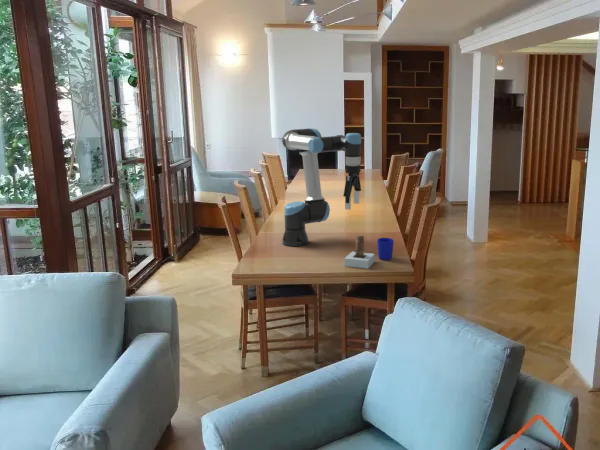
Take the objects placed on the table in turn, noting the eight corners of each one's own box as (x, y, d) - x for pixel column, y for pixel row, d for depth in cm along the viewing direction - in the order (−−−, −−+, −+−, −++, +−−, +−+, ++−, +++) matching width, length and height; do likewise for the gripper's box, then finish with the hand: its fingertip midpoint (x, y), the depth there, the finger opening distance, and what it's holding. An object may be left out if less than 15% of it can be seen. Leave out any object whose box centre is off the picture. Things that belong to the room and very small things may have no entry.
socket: (344, 266, 255) (344, 258, 254) (352, 259, 266) (352, 251, 265) (368, 268, 250) (368, 260, 249) (374, 261, 261) (374, 253, 260)
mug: (389, 253, 273) (390, 235, 270) (394, 260, 261) (395, 241, 259) (374, 254, 273) (374, 236, 270) (378, 261, 261) (378, 242, 258)
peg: (354, 264, 257) (354, 237, 254) (357, 262, 261) (357, 235, 257) (362, 265, 255) (362, 238, 252) (364, 262, 259) (364, 236, 256)
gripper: (352, 169, 243) (351, 212, 249) (367, 161, 265) (366, 201, 271) (337, 168, 246) (336, 211, 252) (353, 160, 268) (352, 200, 274)
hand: (352, 206), depth 262 cm, fingers open, 13 cm apart
